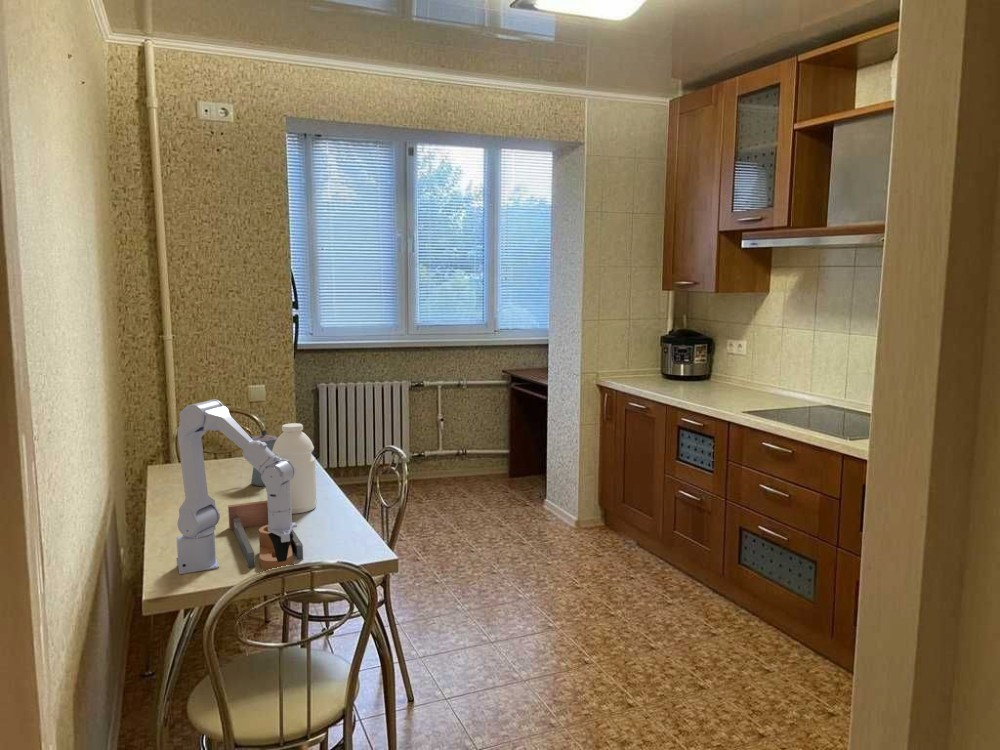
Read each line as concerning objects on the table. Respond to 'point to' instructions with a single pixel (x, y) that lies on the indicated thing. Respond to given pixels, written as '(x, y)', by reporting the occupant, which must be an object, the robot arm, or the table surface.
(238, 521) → the receiver
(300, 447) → the bottle
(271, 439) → the moka pot
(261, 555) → the bracket
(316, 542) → the table surface
